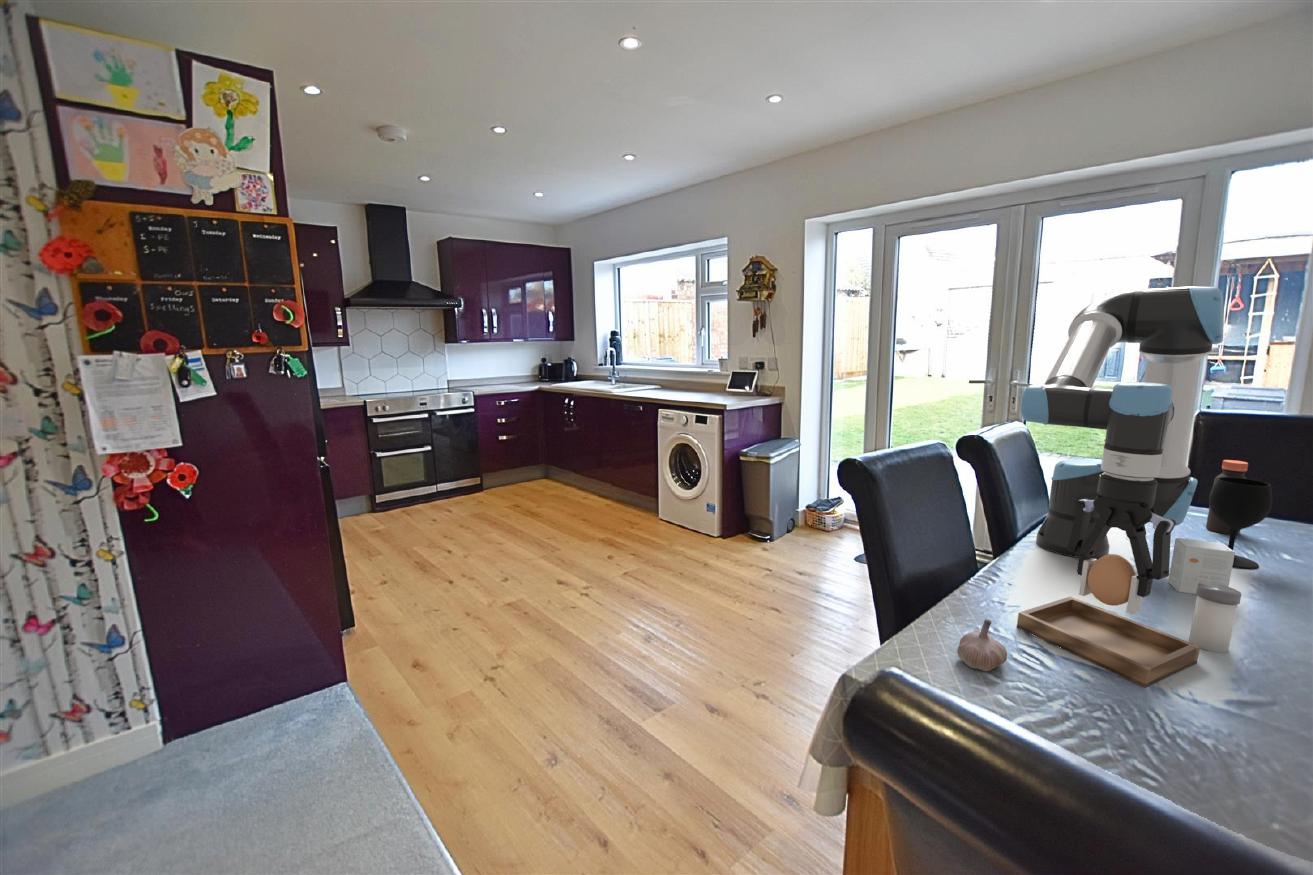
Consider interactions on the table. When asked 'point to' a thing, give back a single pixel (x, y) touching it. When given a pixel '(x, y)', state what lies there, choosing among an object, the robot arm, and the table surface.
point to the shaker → (1214, 616)
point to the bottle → (1229, 470)
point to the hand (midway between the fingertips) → (1108, 602)
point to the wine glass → (1240, 508)
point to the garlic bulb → (981, 650)
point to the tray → (1109, 640)
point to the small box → (1199, 564)
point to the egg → (1111, 579)
